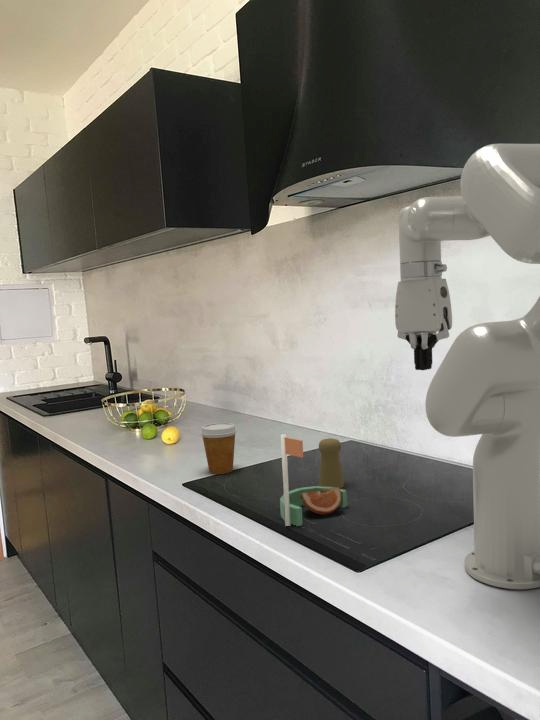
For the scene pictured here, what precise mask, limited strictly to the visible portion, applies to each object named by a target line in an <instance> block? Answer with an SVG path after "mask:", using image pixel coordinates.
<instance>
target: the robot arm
mask: <svg viewBox="0 0 540 720" xmlns="http://www.w3.org/2000/svg"><path fill="white" fill-rule="evenodd" d="M459 186H460V192H461V193H460V194H461V195H459V196H457V195H455V196H450V195H449V196H427V197H421V198H419V199H417V200H415V201H414V202H413V203H412V204H411V205H409V206H406V207H403V208H402V209H401V210H400V211H399V214H398V245H399V271H400V273H399V274H400V281H398V283H397V288H396V294H395V306H394V308H395V309H394V310H395V311H394V318H395V319H394V320H395V328H396V331H397V338H398V339H401V340H405V341H407V342H408V344H410V348H411V349H412V350H413V361H414V362H413V363H414V369H415V371H427V370H432V367H433V349H434V348H435V346H436V344H437V343H438V342H439V341H440V340H445V339H448V338H449V337H450V333H449V331H450V330H451V329H452V327H453V312H452V304H451V301H452V300H451V296H450V289H449V286H448V282H447V279H446V278H442V276H443V273H444V272H447V269H448V267H447V265H446V263H445V264H443V263H442V246H441V242H443V241H473V240H480V239H483V238H487V237H491V238H492V239H493V240H494V242H495V243H496V244H497V245H498V246H499V247H500V249H501V250H502V251H504V253H505V254H507V255H508V256H509V257H510V258H512V259H513V260H516V261H518V262H520V263H524V264H530V265H540V143H491V144H487V145H484V146H483V147H481V148H479V149H477V150H475V152H473V153H472V154H471V156H470V157H469V158H468V159H467V161H466V162H465V164H464V165H463V168H462V172H461V176H460V185H459ZM425 415H426V418H427V419H428V422H429V424H430V426H431V427H432V428H433V429H434V430H435V431H437V433H439V434H440V435H443V436H446V437H451V438H452V437H455V438H456V437H459V438H460V437H468V436H470V437H471V436H476V435H481V436H480V438H479V439H478V441H477V443H476V447H475V449H474V451H473V452H474V453H473V458H472V489H473V490H472V491H473V536H474V539H473V541H474V542H473V543H474V544H473V545H474V547H473V548H474V550H473V551H470V552H469V553H468V554H467V555H466V556H465V557H464V561H463V562H464V569H465V571H466V573H467V574H468V575H469V576H471V577H472V578H473V579H475V580H477V581H479V582H480V583H484V584H485V585H488V586H492V587H496V588H501V589H508V590H530V589H532V590H533V589H536V588H540V296H539V297H538V298H537V300H536V302H535V303H534V304H533V306H532V307H531V308H530V310H529V311H528V312H527V313H526V314H524V315H523V316H522V317H519V318H516V319H512V320H502V321H491V322H490V321H489V322H488V321H487V322H482V323H478V324H473V325H471V326H469V327H467V328H466V329H464V330H463V331H462V332H460V333H459V334H458V335H457V336H456V338H455V339H454V340H453V342H452V344H451V346H450V348H449V350H448V351H447V353H446V354H445V356H444V358H443V360H442V361H441V363H440V365H439V366H438V369H437V370H436V372H435V374H434V376H433V377H432V379H431V381H430V384H429V386H428V389H427V391H426V397H425Z"/></svg>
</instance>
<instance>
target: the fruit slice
mask: <svg viewBox="0 0 540 720" xmlns="http://www.w3.org/2000/svg"><path fill="white" fill-rule="evenodd" d="M340 489H341V488H339V487H335V488H330V489H324V490H320V491H318V492H315V491H313V492H305V493H301V499H302V502H303V503H304V505H303V506H305V508H307V509H308V510H309V511H311V512H312V513H315V514H318V515H321V516H322V515H329V514H331V513H334V512H335V511H336V510H337V509H338V508H339V507H338V506H339V504H340V502H341V492H340Z"/></svg>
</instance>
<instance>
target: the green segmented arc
mask: <svg viewBox="0 0 540 720" xmlns="http://www.w3.org/2000/svg"><path fill="white" fill-rule="evenodd" d="M303 445H304V443H303V440H301V439H297V438H292V437H287V435H286V434H284V433H283V434H280V447H281V448H280V449H281V467H282V482H283V494H282V496H281V497H280V498H279V506H280V507H279V508H280V510H279V511H280V516H281V518H282V520H283V521H284V524H285V525H284V526H285V527H286V526H290V527H291V525H292V524H293V526H295V525H296V526H295V527H298V526H299V527H300V526H303V510H302V509H303V507H302V506H305V505H304V503H303V502H302V499H301V493H305V492H313V491H315V492H318V491H320V490H324V489H330V488H335V487H323V486H319V485H316V486H306V487H299V488H295V489H292V490H289V487H290V486H289V471H288V470H289V469H288V467H289V466H288V455H289V456H293V457H298V458H304V446H303ZM339 489H340V492H341V502H340V504H339V506H338V507H337V508H340V509H346V508H347V507H348V500H347V499H348V495H347V493H348V492H347V490H346V489H342V488H339Z"/></svg>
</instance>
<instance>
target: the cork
mask: <svg viewBox="0 0 540 720" xmlns="http://www.w3.org/2000/svg"><path fill="white" fill-rule="evenodd" d="M318 443H319V444H318V450H319V452H320V454H321V455H320V466H319V475H318V476H319V478H318V486H323V487H339V489H342V488H344V486H345V480H344V475H343V474H344V473H343V469H342V463H341V457H340V452H341V450H342V443H341V441H340V440H339V439H337V438H331V437H330V438H324V439H321V440H320V442H318Z"/></svg>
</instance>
